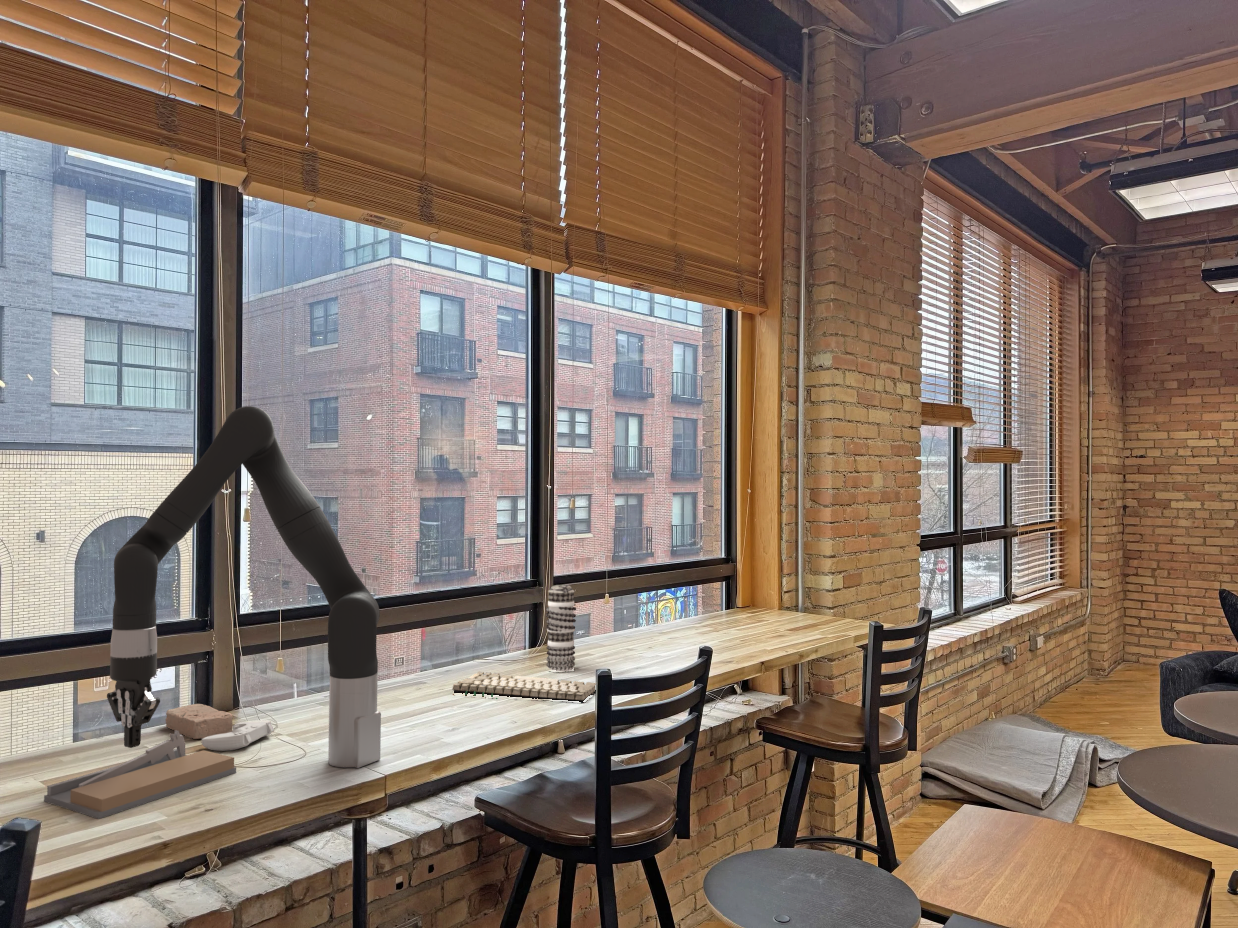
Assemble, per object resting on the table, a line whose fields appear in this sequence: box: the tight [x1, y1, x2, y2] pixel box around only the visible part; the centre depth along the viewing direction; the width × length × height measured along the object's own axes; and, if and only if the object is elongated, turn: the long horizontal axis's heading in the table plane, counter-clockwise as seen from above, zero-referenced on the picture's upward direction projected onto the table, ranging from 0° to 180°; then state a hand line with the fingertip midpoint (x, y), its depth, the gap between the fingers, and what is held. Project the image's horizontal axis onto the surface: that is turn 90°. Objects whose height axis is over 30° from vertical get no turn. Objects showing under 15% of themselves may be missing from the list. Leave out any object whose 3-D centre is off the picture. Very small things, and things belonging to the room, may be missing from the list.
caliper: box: [79, 730, 186, 787], centre depth 158 cm, size 21×1×6 cm, turn 152°
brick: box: [165, 703, 234, 740], centre depth 191 cm, size 16×8×5 cm, turn 50°
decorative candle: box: [545, 584, 577, 671], centre depth 256 cm, size 9×9×25 cm
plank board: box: [43, 748, 237, 820], centre depth 156 cm, size 16×26×3 cm, turn 152°
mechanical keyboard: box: [451, 670, 597, 703], centre depth 229 cm, size 38×19×3 cm, turn 77°
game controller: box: [201, 719, 275, 752], centre depth 182 cm, size 14×4×10 cm
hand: (132, 746), depth 158 cm, fingers closed
